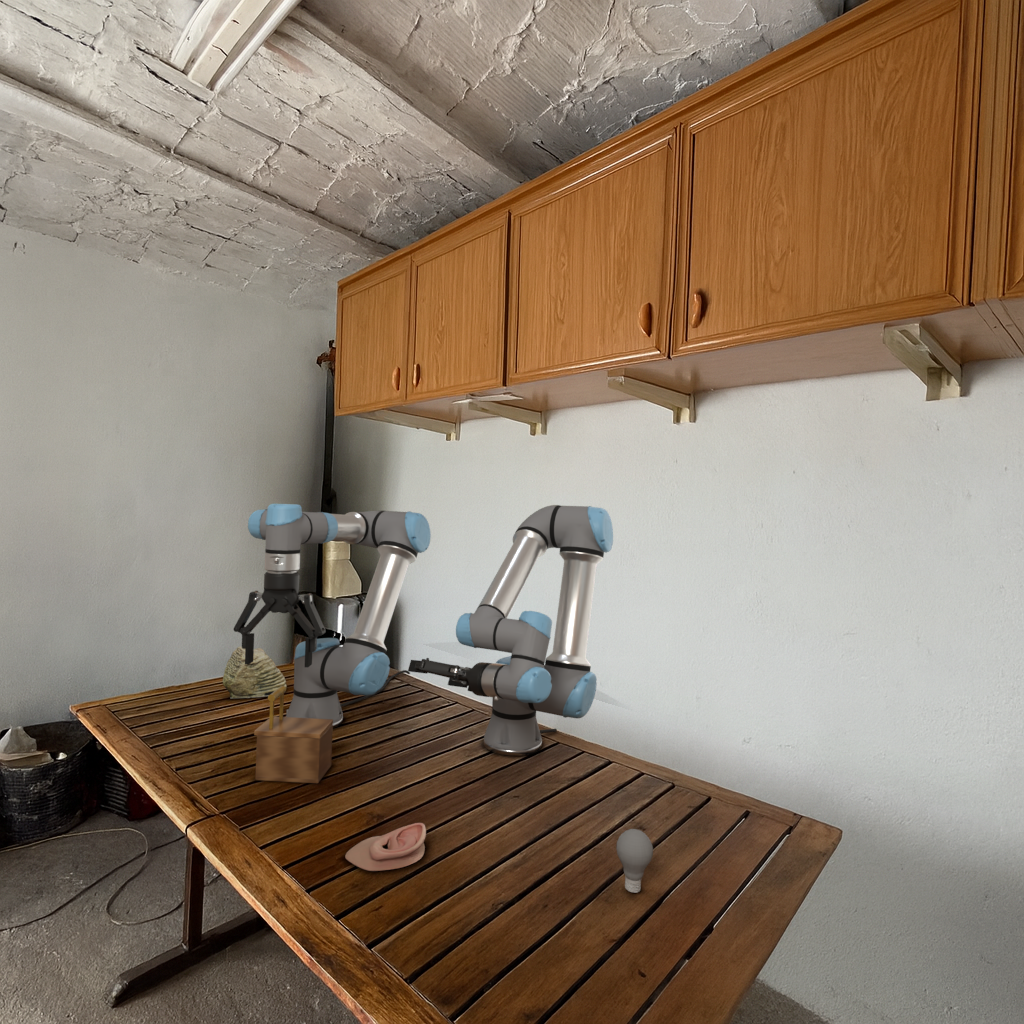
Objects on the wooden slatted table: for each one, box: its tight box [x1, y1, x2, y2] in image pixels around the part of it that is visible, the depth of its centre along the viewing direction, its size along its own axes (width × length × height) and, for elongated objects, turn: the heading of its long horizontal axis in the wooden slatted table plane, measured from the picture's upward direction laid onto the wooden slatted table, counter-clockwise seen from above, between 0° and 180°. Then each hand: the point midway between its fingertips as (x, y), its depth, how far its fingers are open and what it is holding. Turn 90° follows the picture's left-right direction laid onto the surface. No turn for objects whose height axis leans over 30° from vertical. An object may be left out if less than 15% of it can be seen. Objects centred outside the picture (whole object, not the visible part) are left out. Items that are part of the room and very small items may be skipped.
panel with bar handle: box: [253, 686, 333, 739], centre depth 144 cm, size 15×9×9 cm, turn 89°
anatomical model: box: [344, 822, 427, 872], centre depth 113 cm, size 13×4×12 cm
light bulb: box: [615, 828, 654, 894], centre depth 106 cm, size 6×6×10 cm
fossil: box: [222, 646, 288, 699], centre depth 198 cm, size 9×18×15 cm, turn 132°
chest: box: [255, 724, 334, 784], centre depth 145 cm, size 14×9×10 cm
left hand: (278, 664), depth 144 cm, fingers open, 13 cm apart
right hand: (430, 672), depth 158 cm, fingers open, 13 cm apart
